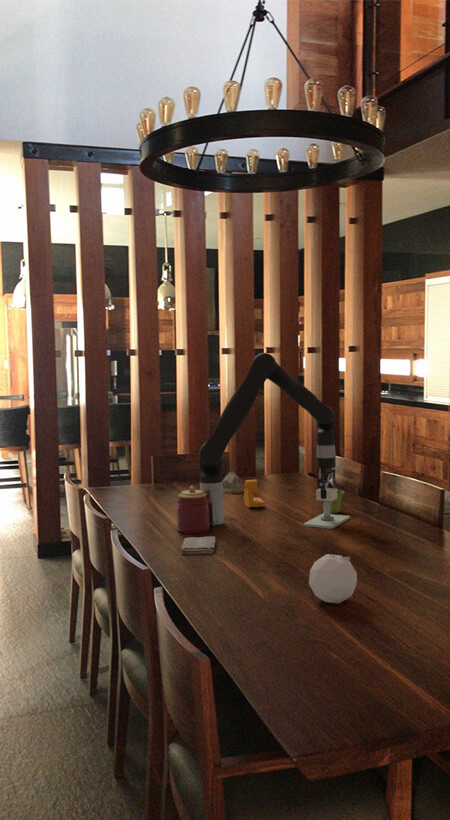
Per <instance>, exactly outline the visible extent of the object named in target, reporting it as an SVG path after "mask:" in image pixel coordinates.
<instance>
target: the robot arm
mask: <svg viewBox="0 0 450 820" xmlns="http://www.w3.org/2000/svg"><path fill="white" fill-rule="evenodd" d="M267 380H269V381H270V382H272V383H274V384H275V385H276V386H277V387H279V388H280V389H281V391H283V392H284V393H285V394H286V395H287V396H289V398H291V399H292V401H294V402H295V403H296V404H298V405H299V407H301V409H303V410H305V411H307V413H309V415H310V416H311V417H312V418H313V419H314V420H316V423H317V424H316V425H317V432H316V468H317V469H320V473H317V474H316V481H317V482H316V483H317V489H321V499H326V488H334V486H335V484H336V469H335V468H336V466H337V465H336V463H337V462H336V458H337V457H336V446H335V441H336V440H335V411H334V409H333V408H332V407H330V406H328V405H326V404H324V403H323V402H322V401H321V400H320V399H318V397H317V396H316V395H315V394H314V393H313V392H312V391H310V390H309V389H308V388H307V387H306V386H304V384H302V383H300V382H299V381H297V379H294V377H292V376H291V375H290V374H288V373H287V372H286V371H285V370H284V369H283V368H282V367H281V366H280V364H278V363H277V361H276V359H275V358H274V356H273V355H272V354H270V353H268V352H261V353H259V354H256V356H255V357H254V359H253V360H252V363H251V365H250V367H249V370H248V372H247V374H246V376H245V378H244V379H243V380H242V382H241V383H240V385H239V386H238V388H237V389H236V390H235V391H234V393H233V395H232V396H231V397H230V399H229V401H228V402H227V404H226V406H225V408H224V409H223V411H222V413H221V415H220V417H219V419H218V422H217V425H216V426H215V429H214V430H213V432H212V434H211V435H210V437H209V439H208V440H207V441H206V442H204V443H203V444H202V445H201V446H200V447H199V452H198V462H199V486H200V487H199V490H201V491H203V492H204V493H206V494H207V495H206V498H208V499H209V502H208V507H209V523H210V525H211V526H212V527H214V526H219V525H223V524H224V522H225V521H224V520H225V518H224V516H225V515H224V514H225V513H224V492H223V486H224V483H223V479H224V478H223V455H224V453H225V452H226V449H227V446H229V443H230V441H231V440H232V438H233V436H234V435H235V434H236V433H237V431H238V430H239V429H240V427H241V426H242V424H243V422H244V421H245V420H246V418H247V417H248V414H249V413H250V412H251V411H252V410H251V409H252V408H253V407H254V406H253V405H254V403H255V402H256V399H257V396H258V395H259V392H260V390H261V388H262V386H263V385H264V384H265V382H266V381H267ZM211 526H210V527H211Z"/></svg>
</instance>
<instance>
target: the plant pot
mask: <svg viewBox="0 0 450 820" xmlns="http://www.w3.org/2000/svg"><path fill="white" fill-rule="evenodd" d="M344 494H345V491H343V490H341V489H340V490H339V489H337V499H335V500H333V501H324V502H330V507H331V514H337V513H340V512H341V509H342V501H343V500H342V499H343V495H344Z"/></svg>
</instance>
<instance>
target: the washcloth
mask: <svg viewBox="0 0 450 820" xmlns="http://www.w3.org/2000/svg"><path fill="white" fill-rule="evenodd" d="M215 548H216V536H212V535H210V536H202V537H201V536H200V537H197V536H196V537H194V536H192V537H185V538H184V539H183V542H182V545H181V547H180V551H181V555H212V554H213V553H214V552H215Z"/></svg>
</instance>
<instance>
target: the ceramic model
mask: <svg viewBox="0 0 450 820" xmlns="http://www.w3.org/2000/svg"><path fill="white" fill-rule="evenodd" d="M242 483H243V481H242V479H241V478H240V477H239V476H238V475H237V473H235V472H234V471H233V470H232V471H230V472H228V473H227V474H226V475H225V476H224V478H223V491H224V492H223V493H225V492H228V493H227V494H230V493H235V494H241V493H244V488H243V487H242V486H241V484H242Z"/></svg>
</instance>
